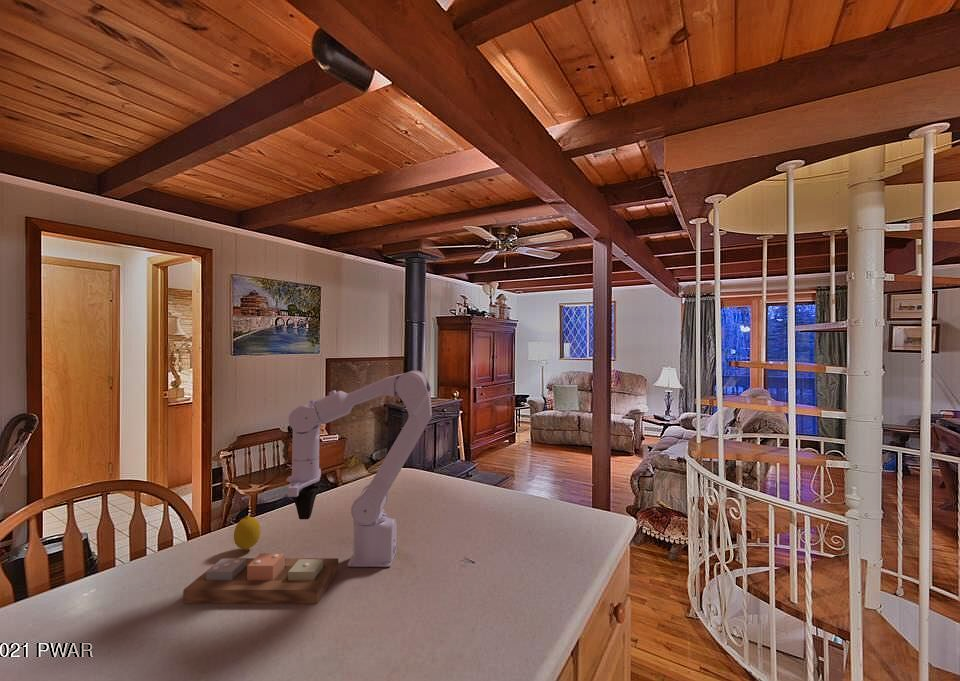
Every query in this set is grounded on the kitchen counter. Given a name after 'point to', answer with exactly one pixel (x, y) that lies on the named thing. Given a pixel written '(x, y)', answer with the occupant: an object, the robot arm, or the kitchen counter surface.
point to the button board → (262, 587)
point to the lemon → (247, 533)
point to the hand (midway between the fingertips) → (304, 518)
